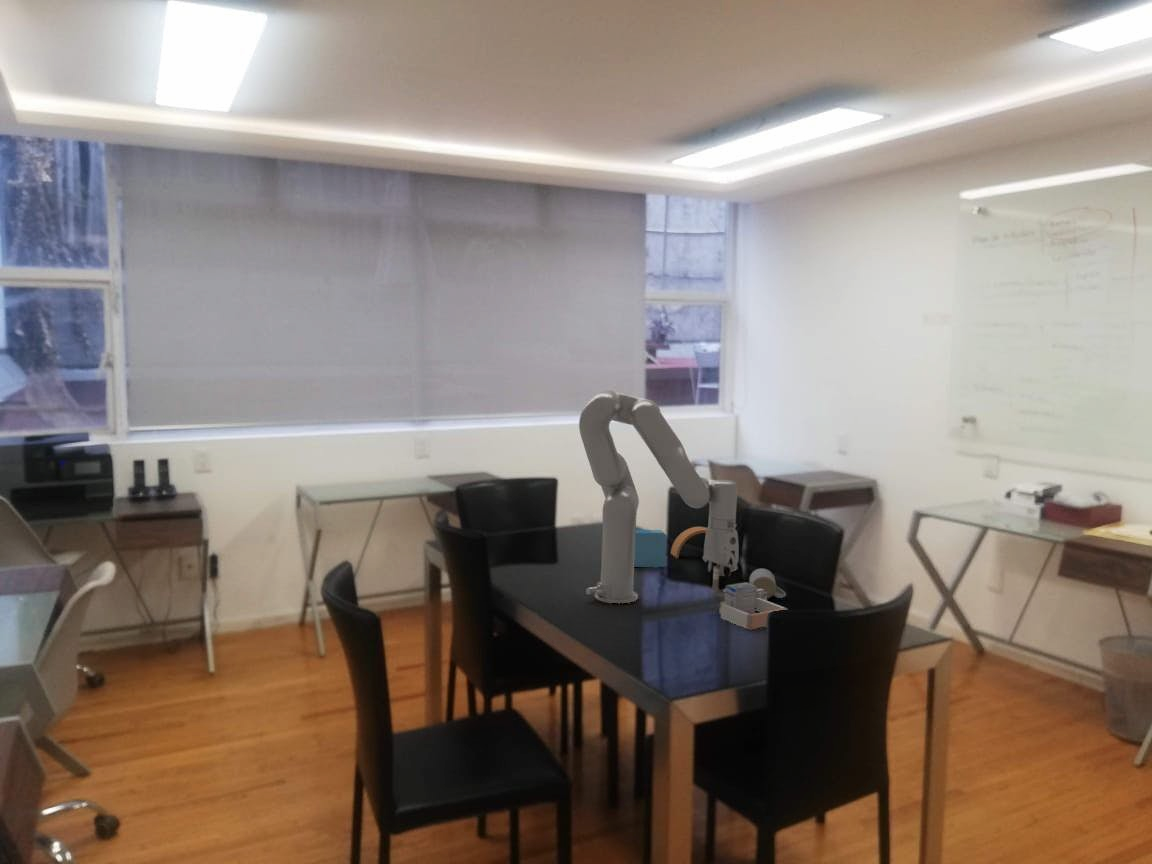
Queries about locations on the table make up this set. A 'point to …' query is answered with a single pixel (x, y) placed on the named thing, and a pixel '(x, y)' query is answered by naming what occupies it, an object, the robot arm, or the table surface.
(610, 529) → the robot arm
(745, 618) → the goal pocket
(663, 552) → the data package
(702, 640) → the table surface
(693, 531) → the arch
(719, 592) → the crank handle
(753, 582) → the ceramic mug
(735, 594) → the medicine box
